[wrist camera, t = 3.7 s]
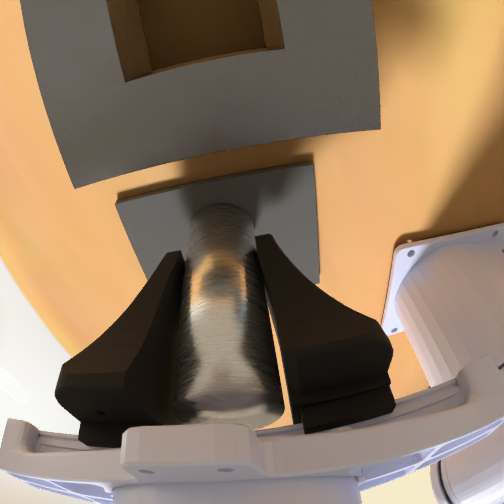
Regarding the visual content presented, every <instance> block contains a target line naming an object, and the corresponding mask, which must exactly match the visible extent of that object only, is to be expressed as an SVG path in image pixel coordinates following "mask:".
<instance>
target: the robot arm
mask: <svg viewBox="0 0 504 504" xmlns="http://www.w3.org/2000/svg"><path fill="white" fill-rule="evenodd" d="M255 243H256V249H257V254H258V259H259V264H260V269H261V273H262V277H263V282H264V288H265V293H266V299H267V303H268V307H269V310H270V314H271V317H272V321H273V324H274V328H275V331H276V335H277V338H278V342H279V346H280V351H281V357H282V362H283V368H284V374H285V379H286V385H287V391H288V396H289V402H290V408H291V414H292V420H293V425H289V426H283V427H277V428H271V429H264V430H257V431H253V430H251V429H250V428H248V427H247V426H246V425H242V424H237V423H232V422H213V423H201V424H187V425H184V424H182V423H181V422H179V421H178V420H177V419H176V417H175V416H174V412H173V408H174V388H175V371H176V357H177V343H178V331H179V319H180V308H181V298H182V288H183V279H184V270H185V260H184V258H183V255H182V252H181V250H178V251H173V252H168V253H166V254H165V256H164V257H163V259H162V260H161V262H160V263H159V265H158V266H157V268H156V269H155V271H154V273H153V274H152V276H151V277H150V279H149V280H148V281H147V283H146V284H145V286H144V287H143V289H142V290H141V291H140V293H139V294H138V295H137V297H136V298H135V299H134V301H133V302H132V303H131V305H130V306H129V307H128V308H127V309H126V310H125V312H124V313H123V314H122V315H121V316H120V317H119V318H118V319H117V320H116V321H115V322H114V323H113V324H112V325H111V326H110V327H109V328H108V329H107V330H106V331H105V332H104V333H103V334H102V335H101V336H100V337H99V338H98V339H96V340H95V341H94V342H93V343H92V344H90V345H89V346H88V347H87V348H85V349H84V350H83V351H81V352H80V353H79V354H77V355H76V356H74V357H73V358H71V359H70V360H68V361H67V362H66V363H64V364H63V365H62V368H61V371H60V375H59V379H58V382H57V386H56V389H55V397H56V399H57V401H58V403H59V404H60V405H61V406H62V407H64V409H66V410H67V411H68V412H69V413H70V414H72V415H73V416H74V417H75V418H77V419H78V420H79V421H80V422H81V424H80V429H79V435H71V434H62V433H54V432H45V431H39V430H38V429H37V428H36V427H35V426H34V425H32V424H30V423H29V422H26V421H22V420H16V419H8V420H7V424H6V428H5V432H4V435H3V439H2V444H1V448H0V470H2V471H4V472H6V473H8V474H9V475H11V476H13V477H15V478H17V479H19V480H21V481H23V482H25V483H27V484H29V485H31V486H33V487H35V488H39V489H42V490H46V491H50V492H53V493H57V494H61V495H65V496H68V497H72V498H76V499H81V500H85V501H89V502H94V503H98V504H362V501H361V496H360V491H364V490H367V489H370V488H373V487H376V486H379V485H381V484H384V483H387V482H390V481H392V480H395V479H397V478H400V477H403V476H405V475H408V474H410V473H412V472H415V471H417V470H420V469H422V468H424V467H427V466H429V465H430V477H431V484H432V489H433V492H434V495H435V497H436V499H437V502H438V503H439V504H504V223H500V224H496V225H491V226H486V227H482V228H477V229H473V230H468V231H463V232H459V233H454V234H449V235H445V236H440V237H435V238H430V239H425V240H421V241H416V242H411V243H406V244H402V245H399V246H398V247H397V248H396V249H395V251H394V255H393V262H392V268H391V275H390V281H389V287H388V293H387V298H386V304H385V309H384V314H383V319H382V324H381V326H380V325H379V323H378V322H377V321H376V320H375V319H372V318H370V317H368V316H365V315H363V314H361V313H359V312H356V311H354V310H352V309H350V308H349V307H347V306H345V305H343V304H342V303H340V302H339V301H337V300H336V299H334V298H332V297H331V296H329V295H328V294H326V293H325V292H324V291H322V290H321V289H320V288H319V287H317V286H316V285H315V284H314V283H312V282H311V281H310V280H309V279H308V278H307V277H306V276H305V275H304V274H303V273H302V272H301V271H300V270H299V269H298V268H297V267H296V266H295V265H294V264H293V263H292V262H291V261H290V259H289V258H288V257H287V256H286V255H285V253H284V252H283V251H282V250H281V248H280V247H279V245H278V244H277V242H276V241H275V239H274V237H273V235H271V234H264V235H259V236H255ZM410 250H411V251H410ZM409 251H410V252H409ZM403 331H405V333H406V335H407V337H408V339H409V341H410V343H411V345H412V347H413V350H414V352H415V354H416V356H417V358H418V360H419V363H420V365H421V367H422V369H423V371H424V374H425V376H426V378H427V380H428V383H429V385H430V387H431V388H428V389H425V390H422V391H420V392H417V393H414V394H411V395H408V396H405V397H402V398H399V399H396V400H394V397H393V394H392V391H391V389H390V386H389V385H390V384H391V380H390V378H389V375H388V373H387V372H388V369H389V366H390V363H391V360H392V357H393V348H392V345H391V343H390V340H389V339H388V337H387V336H388V335H392V334H396V333H399V332H403Z"/></svg>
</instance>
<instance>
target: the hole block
mask: <svg viewBox="0 0 504 504" xmlns="http://www.w3.org/2000/svg"><path fill="white" fill-rule="evenodd" d="M20 3H21V9H22V15H23V21H24V26H25V31H26V36H27V41H28V45H29V50H30V54H31V58H32V62H33V66H34V70H35V74H36V78H37V82H38V85H39V89H40V92H41V96H42V99H43V102H44V106H45V109H46V112H47V115H48V118H49V121H50V124H51V127H52V130H53V133H54V136H55V139H56V142H57V145H58V148H59V150H60V153H61V156H62V158H63V161H64V164H65V166H66V169H67V171H68V174H69V177H70V179H71V182H72V184H73V186H74V189H76V188H79V187H83V186H86V185H89V184H92V183H96V182H99V181H102V180H106V179H109V178H113V177H116V176H120V175H123V174H127V173H131V172H134V171H138V170H142V169H146V168H150V167H154V166H158V165H162V164H166V163H170V162H174V161H178V160H183V159H187V158H192V157H196V156H201V155H206V154H210V153H215V152H220V151H225V150H231V149H236V148H241V147H247V146H252V145H258V144H264V143H270V142H277V141H283V140H290V139H297V138H304V137H312V136H319V135H328V134H337V133H346V132H356V131H367V130H379V129H381V121H380V92H379V74H378V60H377V49H376V38H375V29H374V21H373V13H372V6H371V0H258V5H259V10H260V16H261V21H262V27H263V33H264V38H265V44H266V48H259V49H252V50H245V51H239V52H233V53H227V54H222V55H217V56H212V57H207V58H202V59H197V60H193V61H189V62H184V63H180V64H176V65H172V66H169V67H165V68H161V69H157V70H154V71H153V70H152V66H151V62H150V57H149V53H148V49H147V44H146V40H145V35H144V31H143V26H142V22H141V17H140V12H139V7H138V3H137V0H20Z"/></svg>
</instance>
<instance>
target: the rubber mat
mask: <svg viewBox="0 0 504 504" xmlns="http://www.w3.org/2000/svg"><path fill="white" fill-rule="evenodd" d="M215 202H229V203H233V204H236V205H238V206H240V207H242V208H243V209H244V210H245V211H247V213H248V214H249V215H250V217H251V218H252V221H253V224H254V230H255V236H259V235H264V234H271V235H273V237H274V239H275V241H276V242H277V244H278V245H279V247H280V248H281V250H282V251H283V252H284V253H285V255H286V256H287V257H288V258H289V259H290V261H291V262H292V263H293V264H294V265H295V266H296V267H297V268H298V269H299V270H300V271H301V272H302V273H303V274H304V275H305V276H306V277H307V278H308V279H309V280H310V281H311V282H312V283H314V284H318V283H320V280H319V251H318V229H317V211H316V195H315V181H314V168H313V163H312V162H311V161H309V162H302V163H296V164H289V165H283V166H277V167H271V168H265V169H259V170H253V171H248V172H242V173H237V174H232V175H227V176H221V177H216V178H211V179H207V180H202V181H197V182H192V183H188V184H183V185H179V186H174V187H170V188H165V189H161V190H157V191H152V192H148V193H144V194H140V195H136V196H132V197H128V198H124V199H120V200H117V201H116V203H115V206H116V209H117V211H118V214H119V216H120V219H121V221H122V223H123V226H124V228H125V231H126V233H127V235H128V238H129V240H130V242H131V245H132V247H133V249H134V251H135V254H136V256H137V258H138V260H139V263H140V265H141V267H142V269H143V271H144V273H145V276H146V278H147V280H149V279H150V277H151V276H152V274H153V273H154V271H155V269H156V268H157V266H158V265H159V263H160V262H161V260H162V259H163V257H164V256H165V254H166V253H168V252H173V251H178V250H181V252H182V255H183V258H184V260H185V261H186V252H187V244H188V236H189V229H190V223H191V220H192V218H193V216H194V215H195V214H196V212H198V211H199V210H200V209H201V208H202V207H204V206H206V205H208V204H211V203H215Z"/></svg>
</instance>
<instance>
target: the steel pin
mask: <svg viewBox="0 0 504 504" xmlns="http://www.w3.org/2000/svg"><path fill="white" fill-rule="evenodd" d="M284 410H285V406H284V400H283V394H282V388H281V382H280V376H279V370H278V364H277V358H276V352H275V346H274V340H273V334H272V328H271V323H270V317H269V311H268V305H267V299H266V293H265V288H264V282H263V277H262V273H261V269H260V264H259V259H258V254H257V249H256V243H255V230H254V224H253V221H252V218H251V217H250V215H249V214H248V213H247V211H245V210H244V209H243V208H242V207H240V206H238V205H236V204H233V203H229V202H215V203H211V204H208V205H206V206H204V207H202V208H201V209H200V210H199V211H198V212H196V214H195V215H194V216H193V218H192V220H191V223H190V229H189V236H188V244H187V252H186V261H185V270H184V279H183V288H182V298H181V308H180V319H179V331H178V343H177V357H176V371H175V388H174V408H173V412H174V416H175V417H176V419H177V420H178V421H179V422H181V423H182V424H184V425H187V424H201V423H213V422H232V423H237V424H242V425H246V426H247V427H248V428H250V429H251V430H257V429H260V428H263V427H265V426H268V425H270V424H272V423H273V422H275V421H277V420H278V419H279V418H280V417H281V416H282V415H283V413H284Z"/></svg>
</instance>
